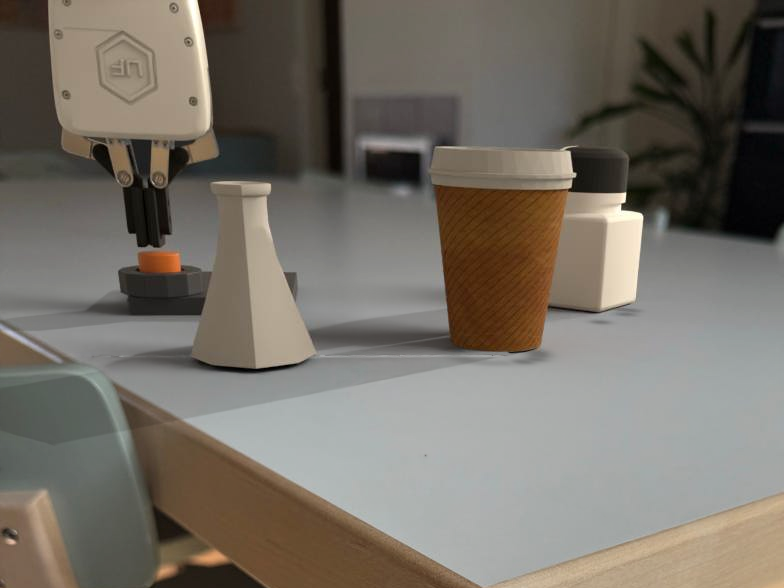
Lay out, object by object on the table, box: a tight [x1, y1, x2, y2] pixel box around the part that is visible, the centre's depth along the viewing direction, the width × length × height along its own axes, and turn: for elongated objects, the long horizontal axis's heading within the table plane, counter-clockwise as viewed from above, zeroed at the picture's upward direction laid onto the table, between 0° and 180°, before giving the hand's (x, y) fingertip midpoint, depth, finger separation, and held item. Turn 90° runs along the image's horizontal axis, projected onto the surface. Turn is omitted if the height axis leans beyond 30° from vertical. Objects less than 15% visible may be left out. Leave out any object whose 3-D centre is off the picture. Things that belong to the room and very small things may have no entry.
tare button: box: [137, 250, 181, 273], centre depth 74 cm, size 3×3×2 cm
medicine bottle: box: [548, 145, 644, 313], centre depth 81 cm, size 7×7×12 cm
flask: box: [190, 180, 317, 369], centre depth 59 cm, size 7×7×10 cm
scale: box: [117, 264, 299, 317], centre depth 79 cm, size 13×14×3 cm
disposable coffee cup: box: [426, 145, 576, 353], centre depth 65 cm, size 10×10×12 cm
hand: (151, 245), depth 73 cm, fingers closed
